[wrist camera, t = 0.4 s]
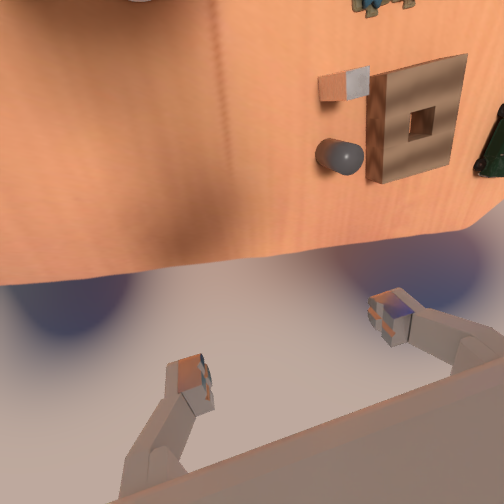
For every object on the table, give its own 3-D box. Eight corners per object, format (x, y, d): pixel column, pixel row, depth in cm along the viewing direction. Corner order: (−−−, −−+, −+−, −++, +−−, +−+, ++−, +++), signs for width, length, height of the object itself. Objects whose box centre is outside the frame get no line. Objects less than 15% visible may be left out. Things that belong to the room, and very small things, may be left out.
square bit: (317, 77, 50) (346, 71, 41) (337, 72, 50) (369, 65, 42) (319, 101, 52) (346, 100, 43) (338, 96, 52) (369, 94, 44)
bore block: (366, 77, 52) (387, 74, 46) (440, 58, 53) (468, 53, 48) (365, 177, 62) (382, 184, 57) (427, 159, 63) (448, 164, 58)
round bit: (314, 142, 55) (335, 148, 48) (339, 135, 56) (364, 140, 48) (316, 168, 58) (336, 178, 51) (340, 162, 59) (363, 170, 51)
